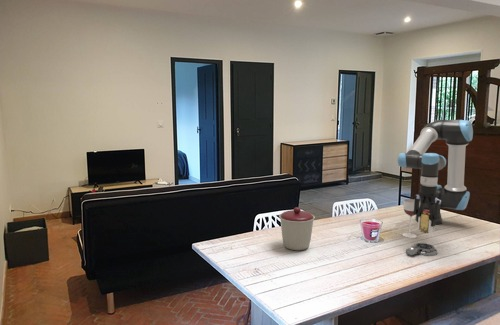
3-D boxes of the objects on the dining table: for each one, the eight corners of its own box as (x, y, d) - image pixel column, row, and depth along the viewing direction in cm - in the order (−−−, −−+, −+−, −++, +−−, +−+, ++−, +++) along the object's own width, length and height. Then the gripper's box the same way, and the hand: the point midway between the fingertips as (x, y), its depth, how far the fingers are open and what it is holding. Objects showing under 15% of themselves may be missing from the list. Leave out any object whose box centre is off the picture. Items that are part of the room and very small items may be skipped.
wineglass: (416, 239, 201) (418, 203, 198) (399, 235, 206) (401, 201, 203) (419, 235, 208) (421, 200, 205) (403, 231, 213) (405, 198, 210)
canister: (313, 255, 180) (314, 213, 177) (276, 252, 184) (277, 211, 180) (314, 241, 197) (315, 203, 194) (281, 239, 201) (281, 202, 198)
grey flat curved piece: (420, 244, 193) (420, 237, 192) (442, 252, 183) (442, 245, 182) (398, 251, 184) (398, 244, 183) (419, 260, 173) (420, 252, 173)
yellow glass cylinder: (423, 229, 186) (425, 208, 185) (433, 231, 182) (434, 211, 181) (417, 230, 184) (419, 210, 182) (427, 233, 180) (428, 212, 178)
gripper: (407, 182, 185) (404, 227, 189) (441, 189, 170) (437, 237, 173) (416, 181, 189) (413, 224, 192) (451, 187, 174) (447, 234, 177)
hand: (425, 230), depth 183 cm, fingers closed on yellow glass cylinder, 5 cm apart
